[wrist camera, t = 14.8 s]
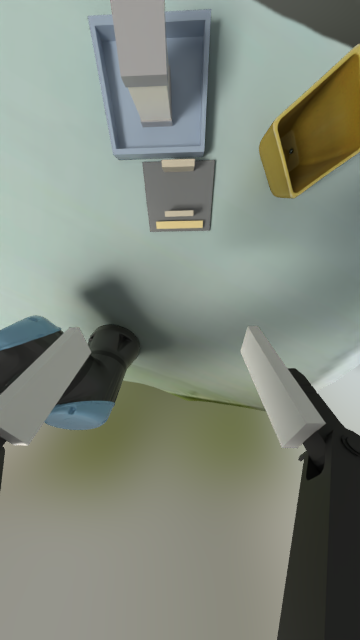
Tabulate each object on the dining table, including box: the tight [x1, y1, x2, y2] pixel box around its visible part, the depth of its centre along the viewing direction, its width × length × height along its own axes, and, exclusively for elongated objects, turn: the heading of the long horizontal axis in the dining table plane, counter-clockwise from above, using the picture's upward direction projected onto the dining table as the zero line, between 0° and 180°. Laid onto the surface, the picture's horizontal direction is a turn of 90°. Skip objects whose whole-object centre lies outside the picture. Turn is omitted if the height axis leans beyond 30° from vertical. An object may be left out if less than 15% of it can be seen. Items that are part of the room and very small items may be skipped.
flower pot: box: [259, 44, 360, 198], centre depth 21 cm, size 9×9×9 cm
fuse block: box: [142, 159, 215, 232], centre depth 27 cm, size 12×10×4 cm
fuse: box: [110, 0, 172, 127], centre depth 18 cm, size 4×4×10 cm
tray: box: [88, 9, 211, 160], centre depth 21 cm, size 14×11×2 cm
